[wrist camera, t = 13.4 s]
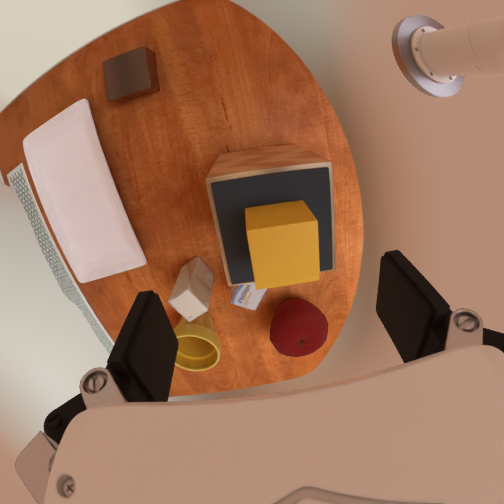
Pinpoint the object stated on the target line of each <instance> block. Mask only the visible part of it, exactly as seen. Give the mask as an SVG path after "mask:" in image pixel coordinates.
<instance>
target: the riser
mask: <svg viewBox="0 0 504 504" xmlns="http://www.w3.org/2000/svg"><path fill="white" fill-rule="evenodd" d="M322 167H328V168H329V176H330V192H331V212H332V246H333V269H331V270H325V271H320V273H321V272H327V271H333V270H336V243H335V207H334V187H333V171H332V161H330V160H328V159H326V158H324V157H322V156H320V155H318V154H316V153H314V152H311V151H309V150H307V149H305V148H303V147H301V146H299V145H296V144H286V145H277V146H269V147H262V148H255V149H248V150H241V151H235V152H229V153H223V154H219V156H218V158H217V159H216V161H215V163H214V164H213V166H212V168H211V169H210V171H209V173H208V175H207V176H206V178H205V181H206V186H207V191H208V196H209V201H210V206H211V211H212V216H213V220H214V225H215V230H216V234H217V239H218V244H219V248H220V253H221V257H222V262H223V266H224V270H225V275H226V279H227V284H228V286H236V285H243V284H250V283H255V282H248V283H241V284H234V285H232V284H231V279H230V275H229V270H228V266H227V261H226V256H225V252H224V247H223V242H222V237H221V233H220V228H219V223H218V218H217V213H216V208H215V203H214V198H213V193H212V188H211V183H213V182H219V181H225V180H231V179H237V178H243V177H250V176H256V175H263V174H271V173H278V172H286V171H294V170H303V169H312V168H322Z"/></svg>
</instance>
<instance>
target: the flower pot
mask: <svg viewBox="0 0 504 504" xmlns="http://www.w3.org/2000/svg"><path fill="white" fill-rule="evenodd" d="M173 330H174V332H175V335H176V337H177V339H178V343H179V347H178V352H177V356H176V361H175V365H176V366H178V367H180V368H183V369H186V370H190V371H203V370H207V369H210V368H212V367H214V366H215V365H216V364H217V363H218V361H219V359H220V350H221V349H220V340H219V338H218V336H217V334H216V333H215V329H214V325H213V320H212V318H211V316H210V315H209V314H208V313H206V312H205V313H204V314H202V315H200V316H199V317H197V318H195V319H194V320H192V321H190V322H189V321H187V320H186V319H185V318H184V317H183V316H182V317H181V319H180V321H179V322H178V324H177V326H176V327H175V328H174V329H173Z"/></svg>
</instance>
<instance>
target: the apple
mask: <svg viewBox="0 0 504 504" xmlns="http://www.w3.org/2000/svg"><path fill="white" fill-rule="evenodd" d="M327 333H328V322H327V320H326V317H325V316H324V314H323V313H322V312H321V311H320V310H319V309H318V308H317V307H316V306H314V305H313V304H312V303H310V302H308V301H306V300H303V299H299V298H295V299H289V300H287V301H284V302H283V303H282V304H281V305H280V306H279V307H278V309H277V311H276V313H275V315H274V317H273V319H272V322H271V328H270V340H271V342H272V343H273V345H274V346H275V348H276V349H277V351H278V352H279V353H281V354H283V355H286V356H292V357H300V356H305V355H308V354H311V353H313V352H314V351H316V350H317V349H319V348H320V347H322V345H323V344H324V342H325V341H326V339H327Z"/></svg>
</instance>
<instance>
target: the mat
mask: <svg viewBox="0 0 504 504" xmlns="http://www.w3.org/2000/svg"><path fill="white" fill-rule="evenodd" d="M211 188H212V193H213V198H214V203H215V208H216V213H217V218H218V223H219V228H220V233H221V237H222V242H223V247H224V252H225V256H226V261H227V266H228V270H229V275H230V279H231V284H232V285H234V284H241V283H248V282H255V279H254V274H253V268H252V262H251V256H250V250H249V244H248V238H247V232H246V218H245V208H250V207H256V206H263V205H270V204H277V203H284V202H291V201H299V200H303V201H304V202H305V204H306V205H307V207H308V208H309V209H310V211H311V212H312V214H313V215H314V216H315V218H316V219H317V221H318V238H319V263H320V271H325V270H331V269H333V246H332V212H331V192H330V176H329V168H328V167H322V168H312V169H303V170H294V171H286V172H278V173H271V174H263V175H256V176H250V177H243V178H237V179H231V180H225V181H219V182H213V183H211Z"/></svg>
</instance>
